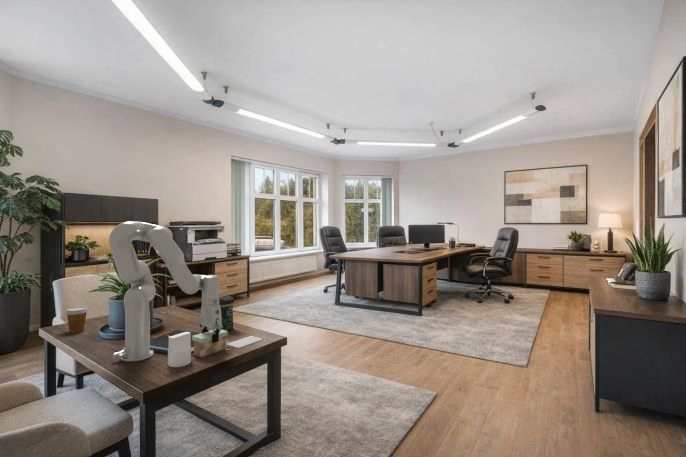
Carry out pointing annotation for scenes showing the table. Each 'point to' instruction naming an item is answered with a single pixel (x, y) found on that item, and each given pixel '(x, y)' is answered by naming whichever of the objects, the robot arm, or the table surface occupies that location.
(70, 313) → the disposable coffee cup
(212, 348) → the pencil box
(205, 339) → the lid
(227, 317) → the coffee jar
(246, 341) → the felt mat
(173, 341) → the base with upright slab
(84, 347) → the table surface
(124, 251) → the robot arm
